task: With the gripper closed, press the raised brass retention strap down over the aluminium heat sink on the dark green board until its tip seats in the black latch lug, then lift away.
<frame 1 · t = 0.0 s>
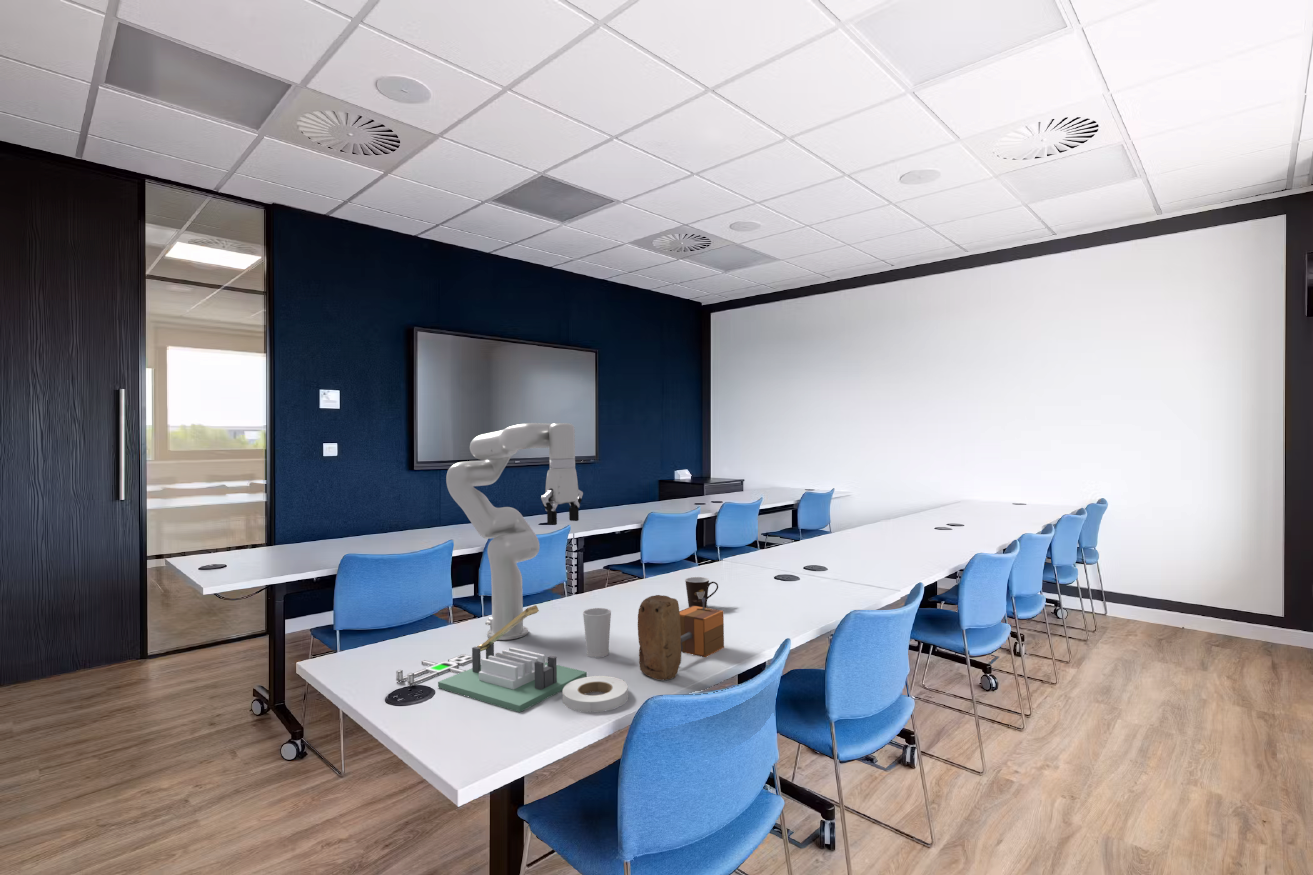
hand: (563, 522, 189), 37 cm above the table, tool pointing down, fingers open, 9 cm apart
block: (659, 675, 165), on the table
roll of tape: (595, 700, 151), on the table
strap: (506, 629, 163), point 13 cm above the table, hinge at 35.0°
coffee mug: (701, 607, 230), on the table
clamp: (690, 654, 181), on the table
cup: (597, 654, 182), on the table
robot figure: (438, 672, 171), on the table
motherboard: (513, 682, 161), on the table
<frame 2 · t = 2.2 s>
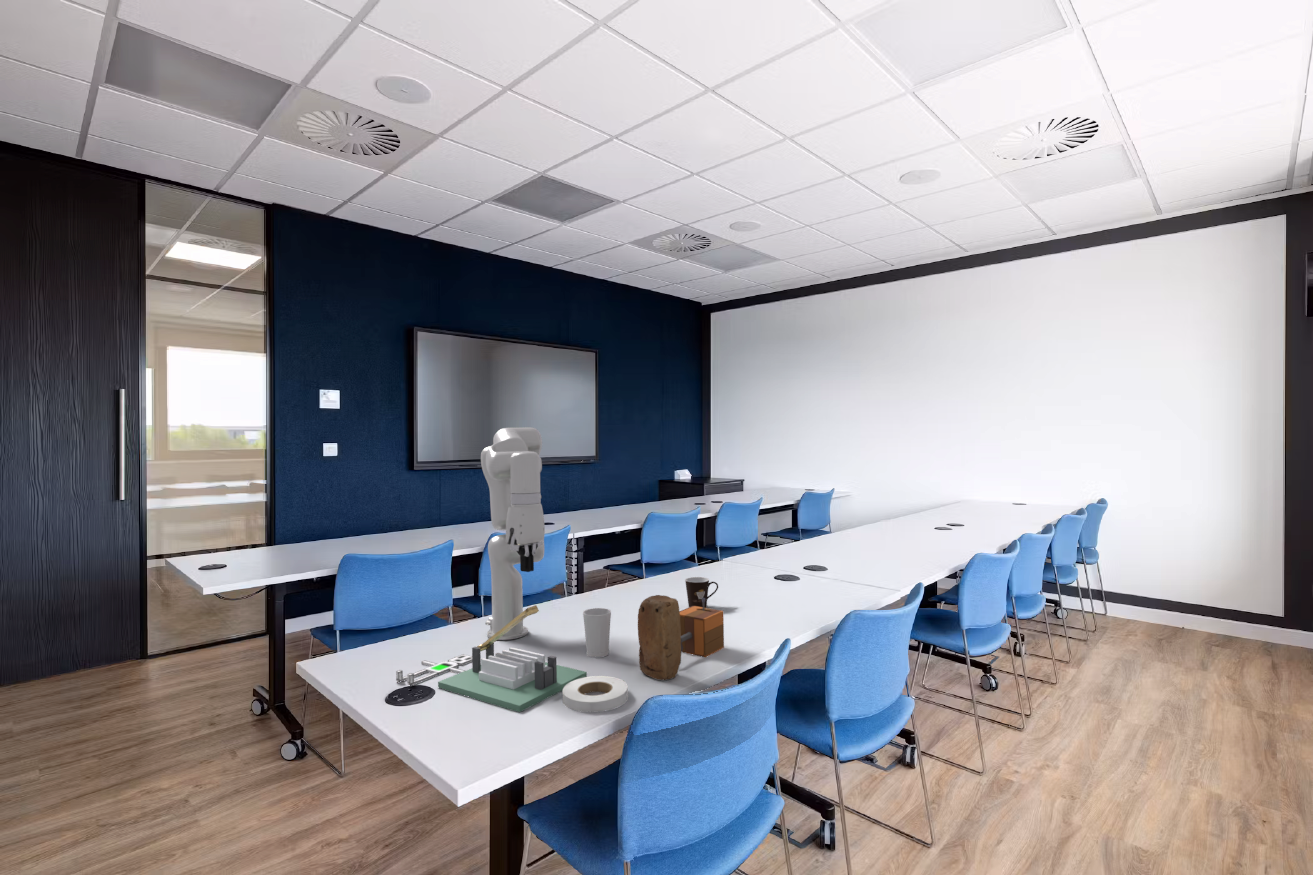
hand: (527, 570, 165), 28 cm above the table, tool pointing down, fingers closed
nothing on the table moved.
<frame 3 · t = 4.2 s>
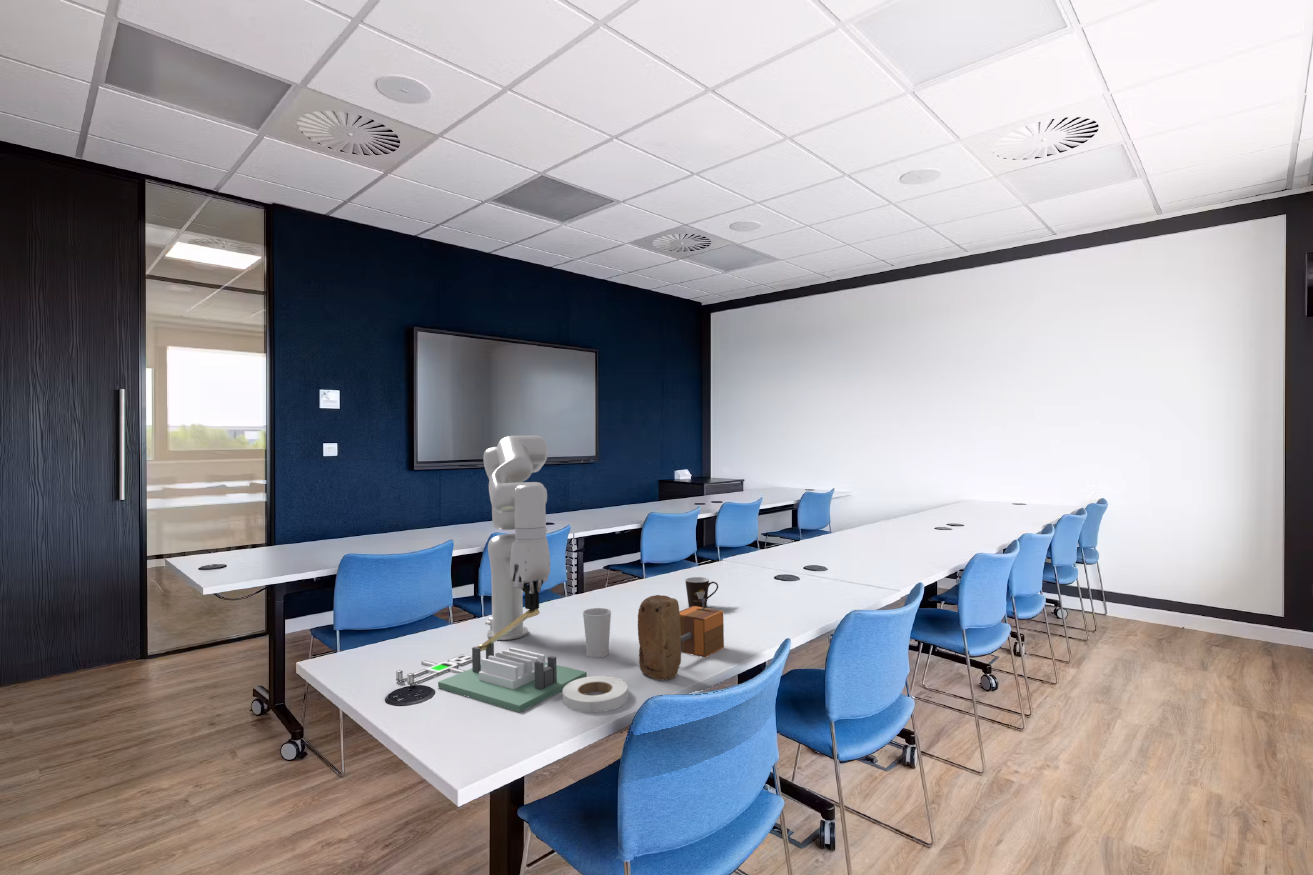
hand: (532, 608, 157), 20 cm above the table, tool pointing down, fingers closed
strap: (507, 630, 162), point 13 cm above the table, hinge at 33.5°, touching gripper
everything else where it was.
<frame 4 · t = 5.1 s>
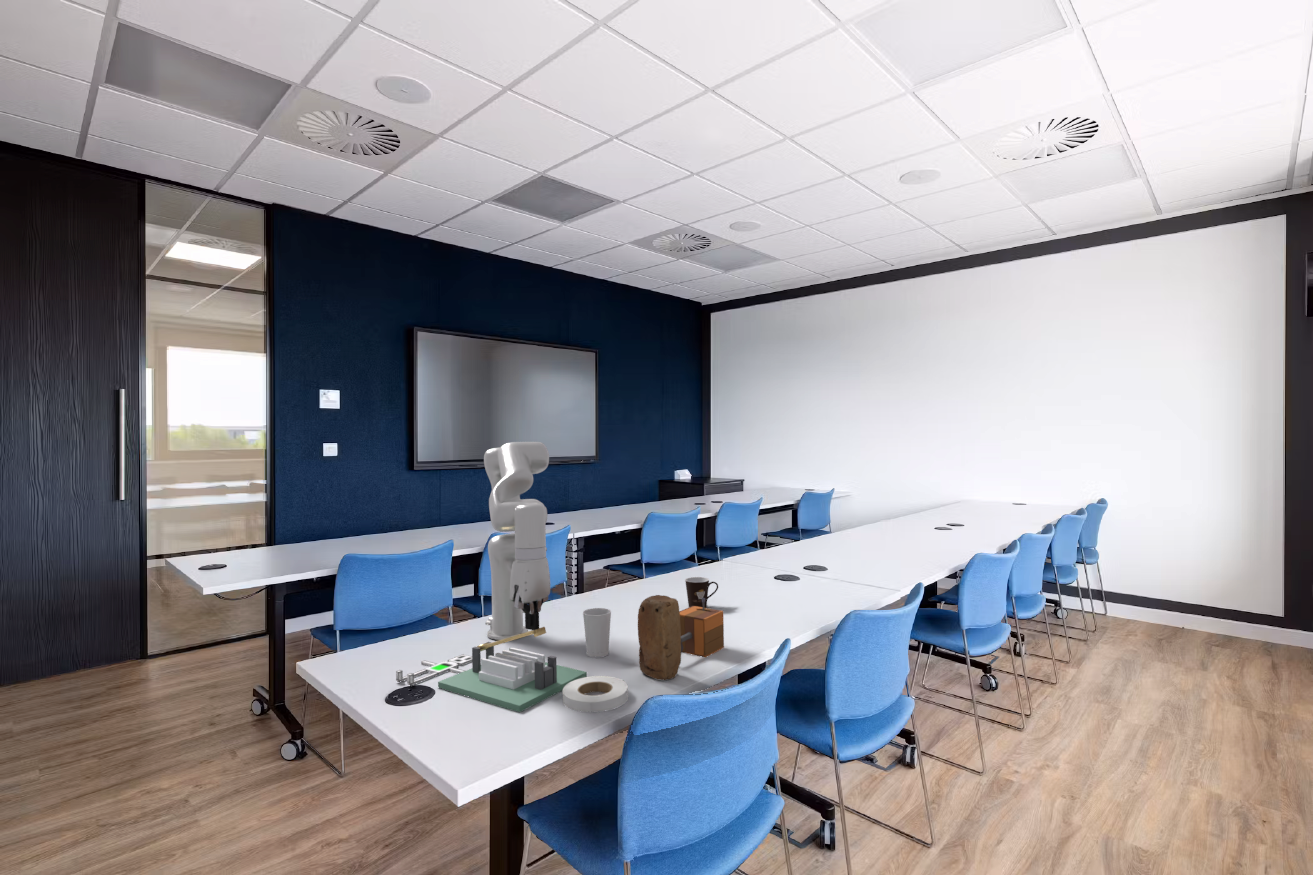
hand: (532, 628, 157), 15 cm above the table, tool pointing down, fingers closed
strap: (510, 639, 162), point 11 cm above the table, hinge at 20.3°, touching gripper
everything else where it was.
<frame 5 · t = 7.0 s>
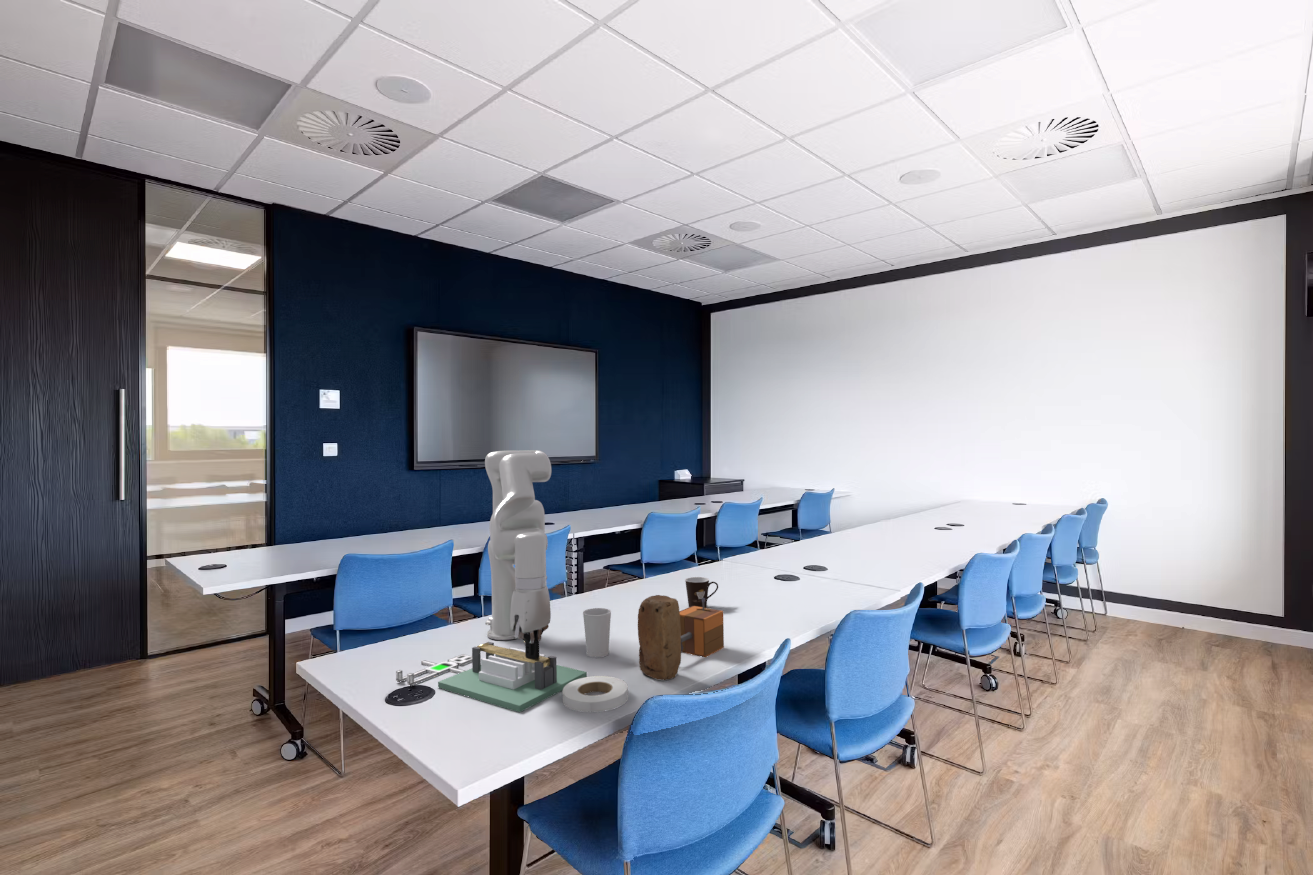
hand: (532, 657, 157), 8 cm above the table, tool pointing down, fingers closed
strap: (512, 654, 162), point 7 cm above the table, hinge at 0.1°, touching gripper
everything else where it was.
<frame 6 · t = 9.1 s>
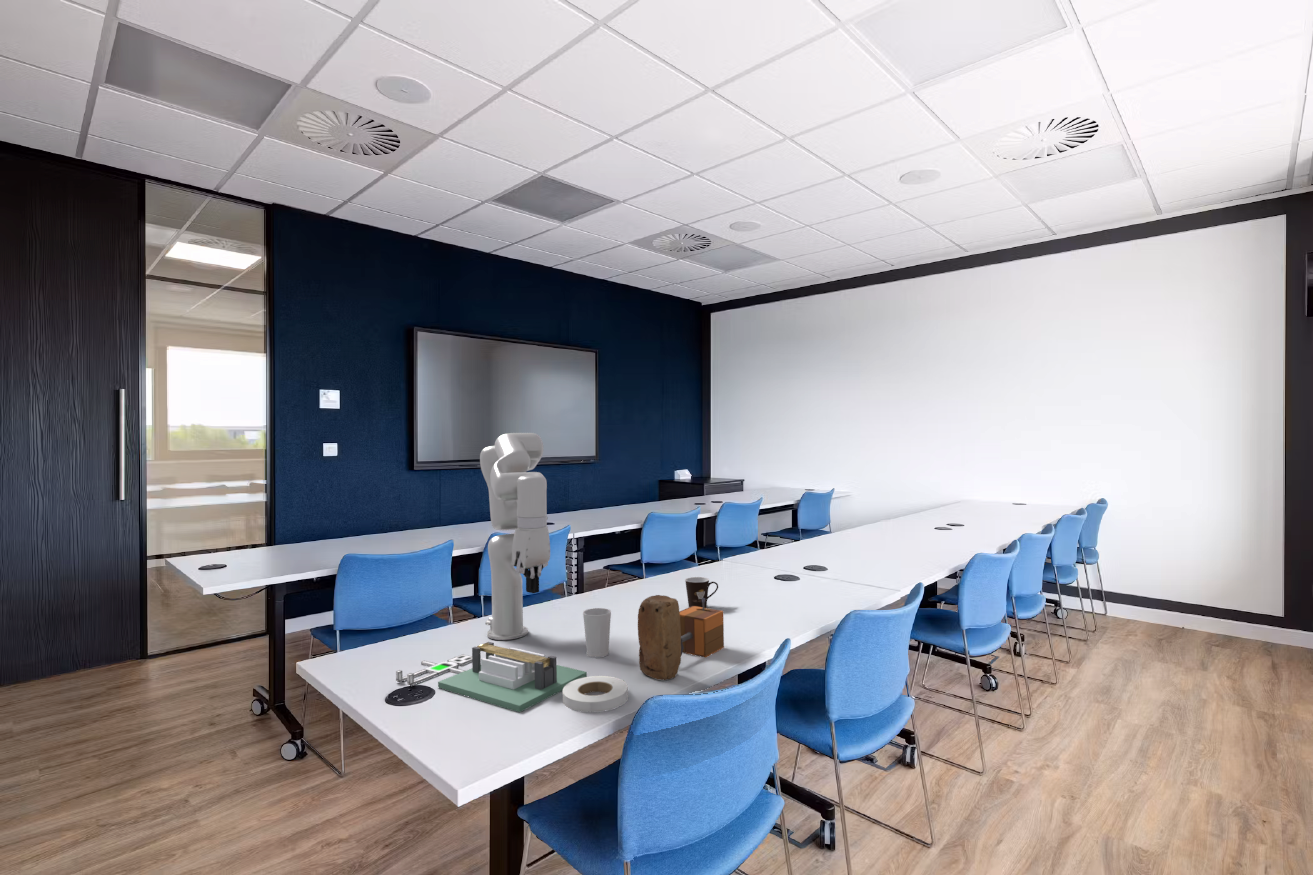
hand: (532, 591, 167), 21 cm above the table, tool pointing down, fingers closed
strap: (512, 654, 162), point 7 cm above the table, hinge at 0.0°
everything else where it was.
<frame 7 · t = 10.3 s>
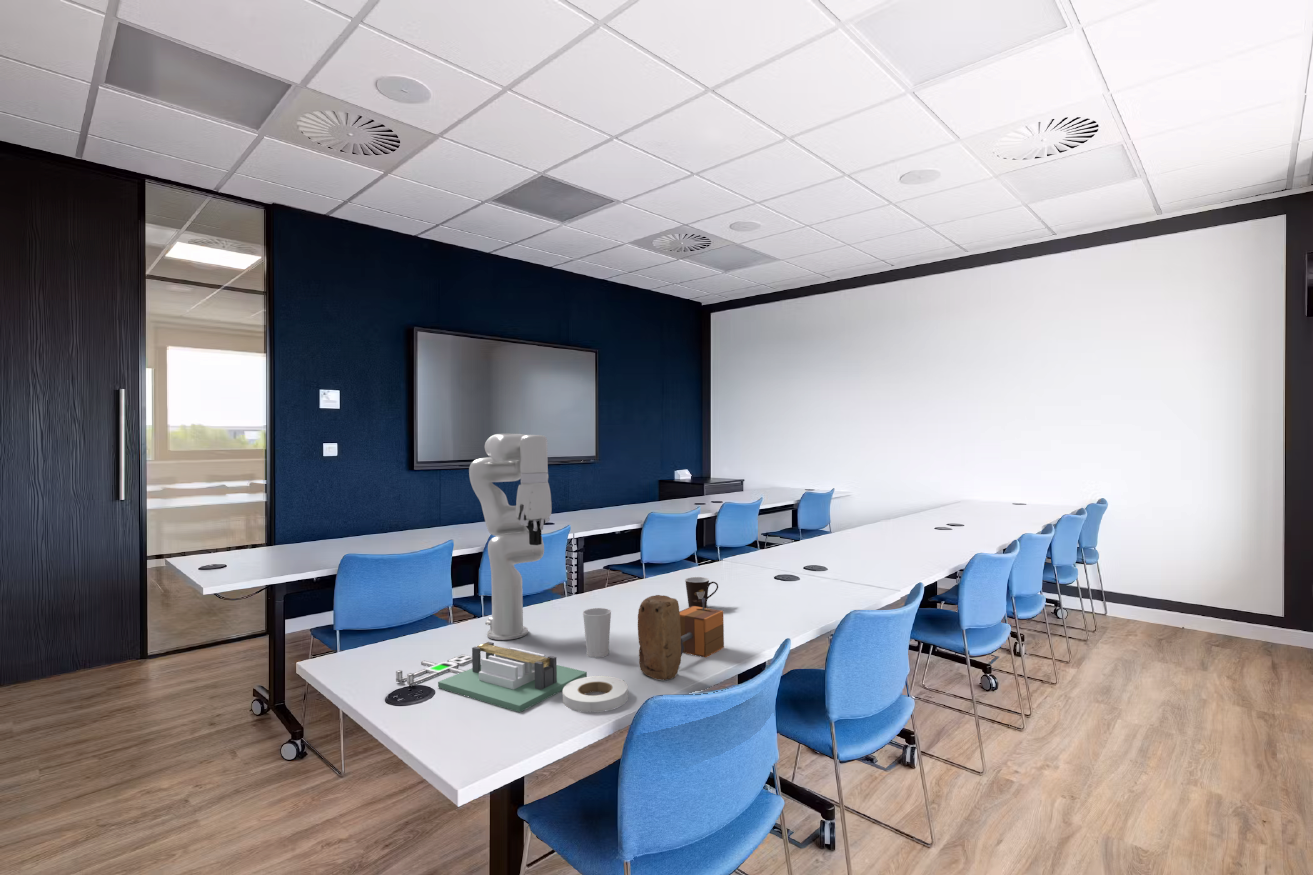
hand: (535, 544, 179), 32 cm above the table, tool pointing down, fingers closed
nothing on the table moved.
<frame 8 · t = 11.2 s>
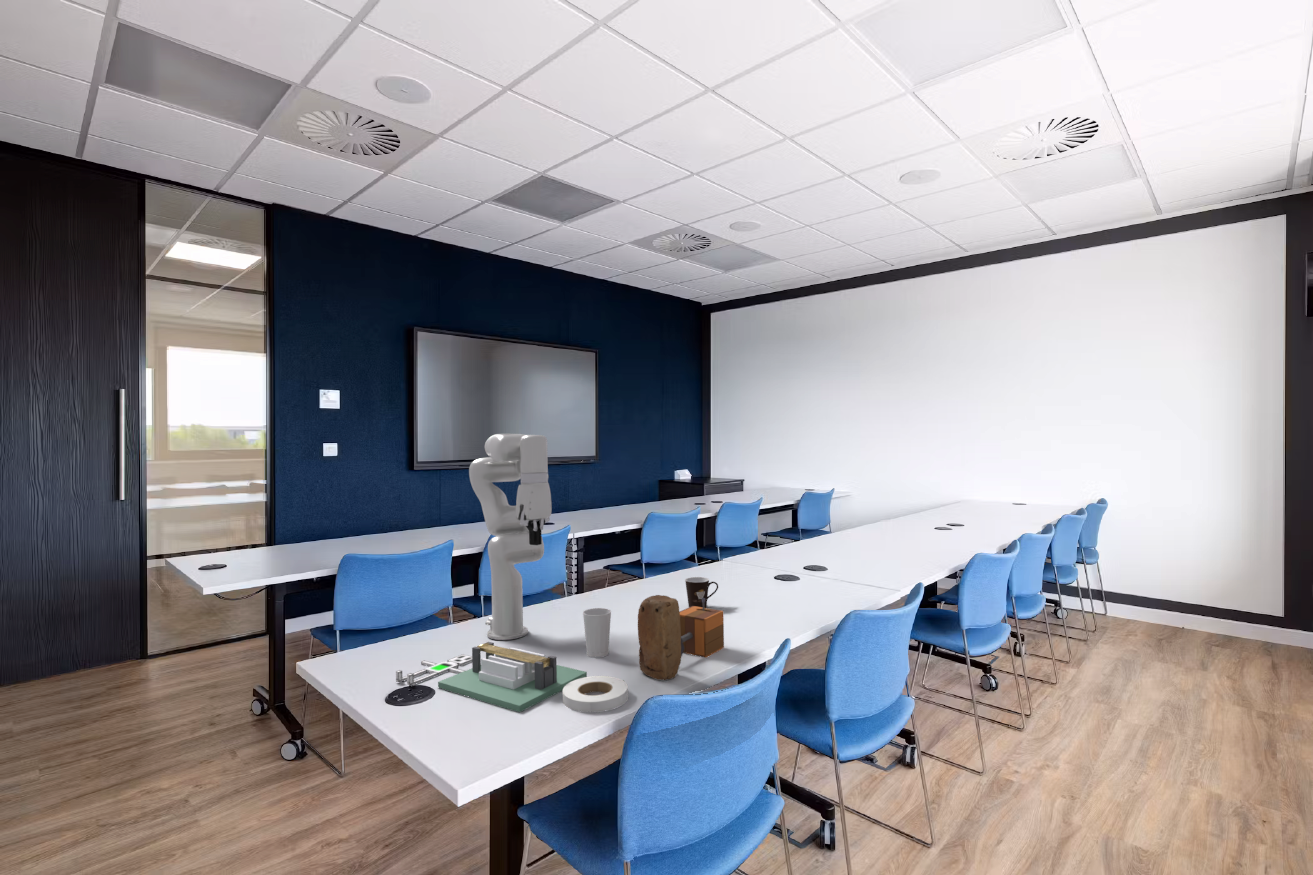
hand: (535, 544, 179), 32 cm above the table, tool pointing down, fingers closed
nothing on the table moved.
at the end: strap at +0° (first picture: +35°); the gripper is holding nothing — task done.
